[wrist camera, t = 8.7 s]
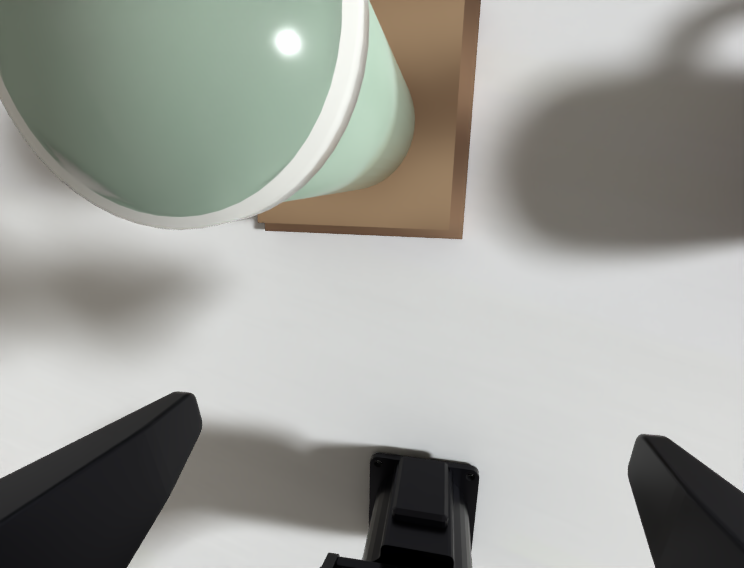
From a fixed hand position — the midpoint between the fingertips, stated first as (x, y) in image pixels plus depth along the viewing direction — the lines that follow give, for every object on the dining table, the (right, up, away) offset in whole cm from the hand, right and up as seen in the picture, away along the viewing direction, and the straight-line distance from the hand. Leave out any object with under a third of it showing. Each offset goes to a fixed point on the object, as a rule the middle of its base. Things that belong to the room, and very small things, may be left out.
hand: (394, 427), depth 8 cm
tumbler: (-1, +10, +9) cm, 13 cm away
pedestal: (-1, +11, +12) cm, 16 cm away
